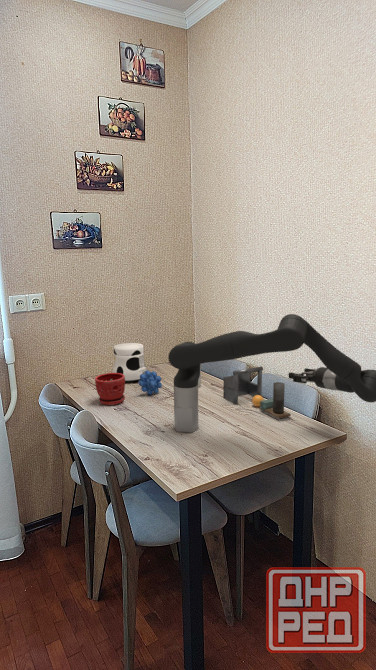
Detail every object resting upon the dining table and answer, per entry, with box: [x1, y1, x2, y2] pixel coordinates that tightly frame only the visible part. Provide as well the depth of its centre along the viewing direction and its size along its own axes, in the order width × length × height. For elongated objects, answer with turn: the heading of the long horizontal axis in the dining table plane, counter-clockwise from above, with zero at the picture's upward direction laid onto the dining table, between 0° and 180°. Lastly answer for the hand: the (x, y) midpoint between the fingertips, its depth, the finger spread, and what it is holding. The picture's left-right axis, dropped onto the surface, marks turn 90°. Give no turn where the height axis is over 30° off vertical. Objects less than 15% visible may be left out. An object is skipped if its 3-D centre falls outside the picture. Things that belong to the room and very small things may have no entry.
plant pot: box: [94, 372, 126, 406], centre depth 202 cm, size 13×13×12 cm
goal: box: [222, 366, 264, 405], centre depth 204 cm, size 10×15×15 cm, turn 119°
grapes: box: [137, 369, 163, 396], centre depth 211 cm, size 12×7×12 cm, turn 116°
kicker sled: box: [259, 381, 292, 418], centre depth 184 cm, size 12×6×13 cm, turn 29°
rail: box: [259, 408, 292, 422], centre depth 186 cm, size 14×5×1 cm, turn 29°
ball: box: [251, 395, 265, 408], centre depth 195 cm, size 5×5×5 cm
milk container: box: [112, 342, 147, 383], centre depth 236 cm, size 17×17×18 cm
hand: (297, 373), depth 174 cm, fingers open, 8 cm apart
